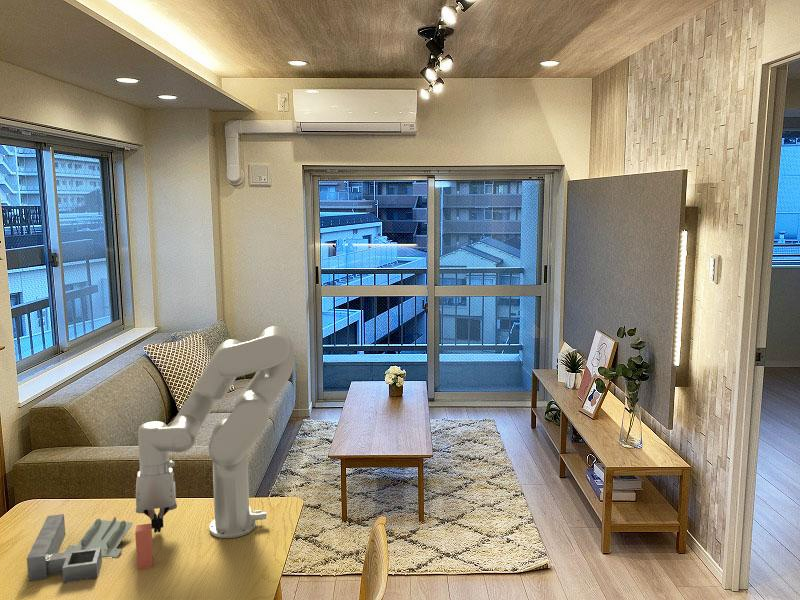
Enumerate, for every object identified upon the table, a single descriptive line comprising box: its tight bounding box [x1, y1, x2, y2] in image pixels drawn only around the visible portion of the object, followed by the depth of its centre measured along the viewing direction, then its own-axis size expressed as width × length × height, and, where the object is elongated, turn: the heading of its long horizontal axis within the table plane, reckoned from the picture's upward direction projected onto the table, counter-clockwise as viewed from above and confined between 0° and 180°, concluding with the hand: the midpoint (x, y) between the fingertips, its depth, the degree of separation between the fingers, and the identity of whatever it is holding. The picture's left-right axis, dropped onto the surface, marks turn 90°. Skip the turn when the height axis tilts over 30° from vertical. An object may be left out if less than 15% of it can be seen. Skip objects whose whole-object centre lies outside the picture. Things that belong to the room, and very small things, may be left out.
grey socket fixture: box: [26, 513, 103, 584], centre depth 168 cm, size 16×25×6 cm, turn 17°
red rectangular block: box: [134, 523, 154, 570], centre depth 164 cm, size 4×4×10 cm
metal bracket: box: [63, 516, 133, 559], centre depth 174 cm, size 14×6×15 cm
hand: (157, 530), depth 179 cm, fingers closed
